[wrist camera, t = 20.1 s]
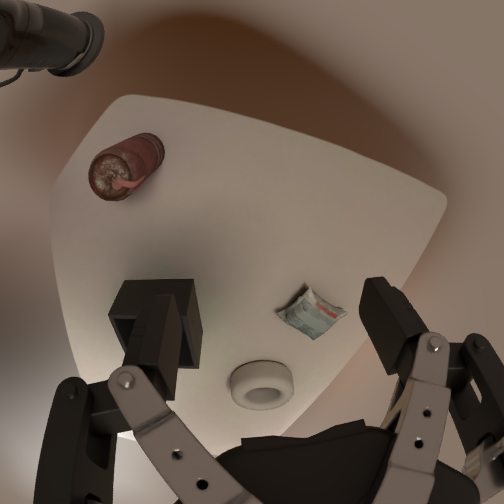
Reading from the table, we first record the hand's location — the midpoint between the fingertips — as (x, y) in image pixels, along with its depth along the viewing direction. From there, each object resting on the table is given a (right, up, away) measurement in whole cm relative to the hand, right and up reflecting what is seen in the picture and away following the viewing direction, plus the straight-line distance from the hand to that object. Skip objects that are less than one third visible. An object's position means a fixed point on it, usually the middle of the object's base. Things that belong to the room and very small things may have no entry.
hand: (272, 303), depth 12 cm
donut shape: (+1, -29, +55) cm, 62 cm away
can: (-16, +17, +28) cm, 37 cm away
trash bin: (-18, -9, +43) cm, 47 cm away
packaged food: (+11, -8, +44) cm, 46 cm away
